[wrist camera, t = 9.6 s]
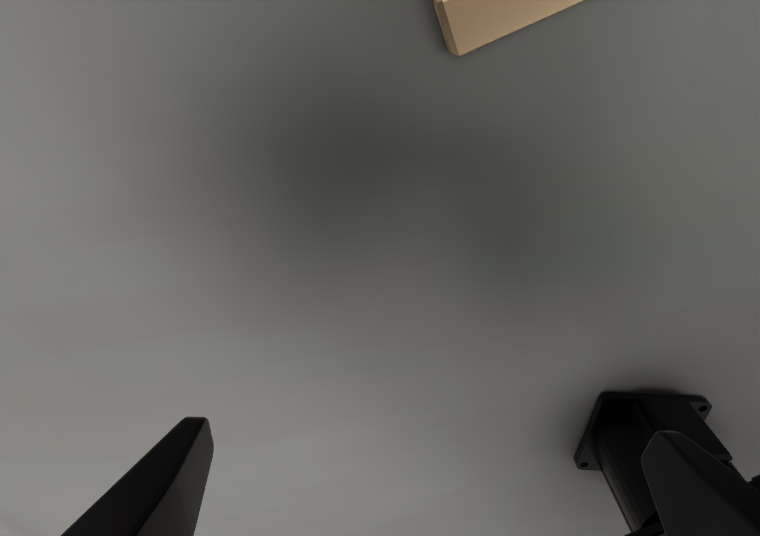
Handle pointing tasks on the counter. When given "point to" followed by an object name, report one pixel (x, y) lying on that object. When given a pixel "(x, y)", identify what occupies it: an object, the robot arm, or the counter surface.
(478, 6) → the frame
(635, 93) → the counter surface
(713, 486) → the robot arm
